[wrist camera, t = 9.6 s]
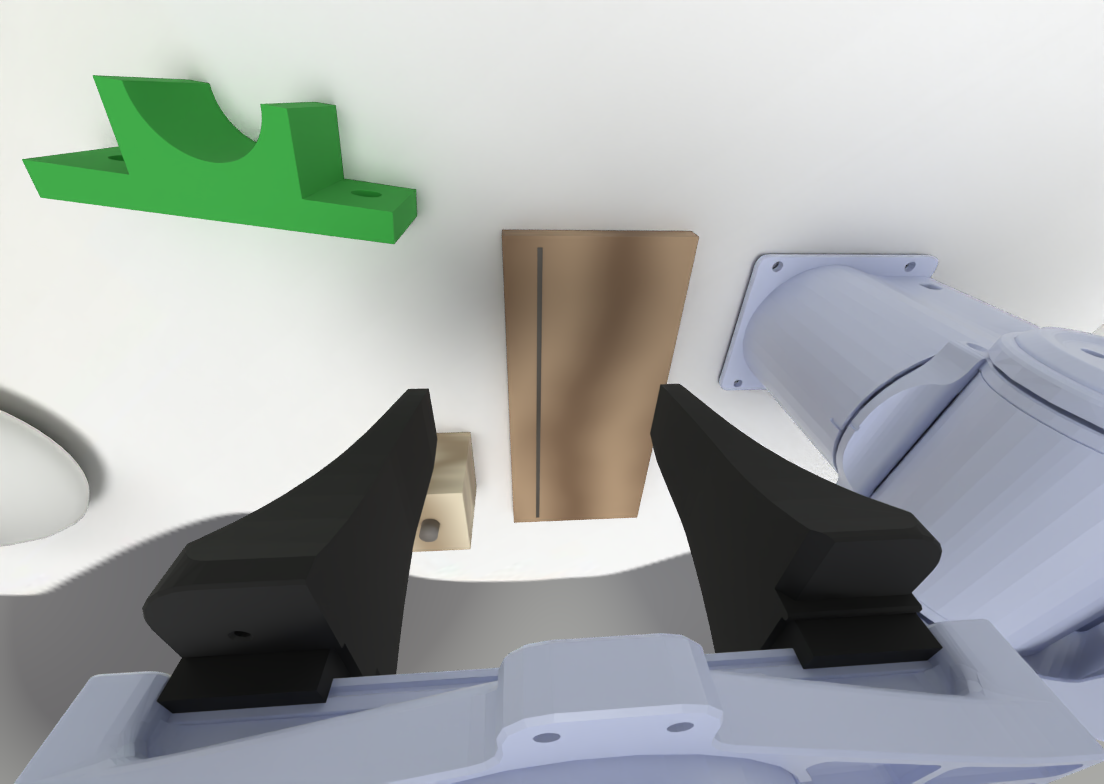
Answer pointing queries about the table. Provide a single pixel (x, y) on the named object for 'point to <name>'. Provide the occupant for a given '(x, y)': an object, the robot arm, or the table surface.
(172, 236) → the table surface
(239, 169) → the pipe clamp
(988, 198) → the table surface
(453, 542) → the beige boxy piece
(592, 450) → the board
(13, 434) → the flower in vase
